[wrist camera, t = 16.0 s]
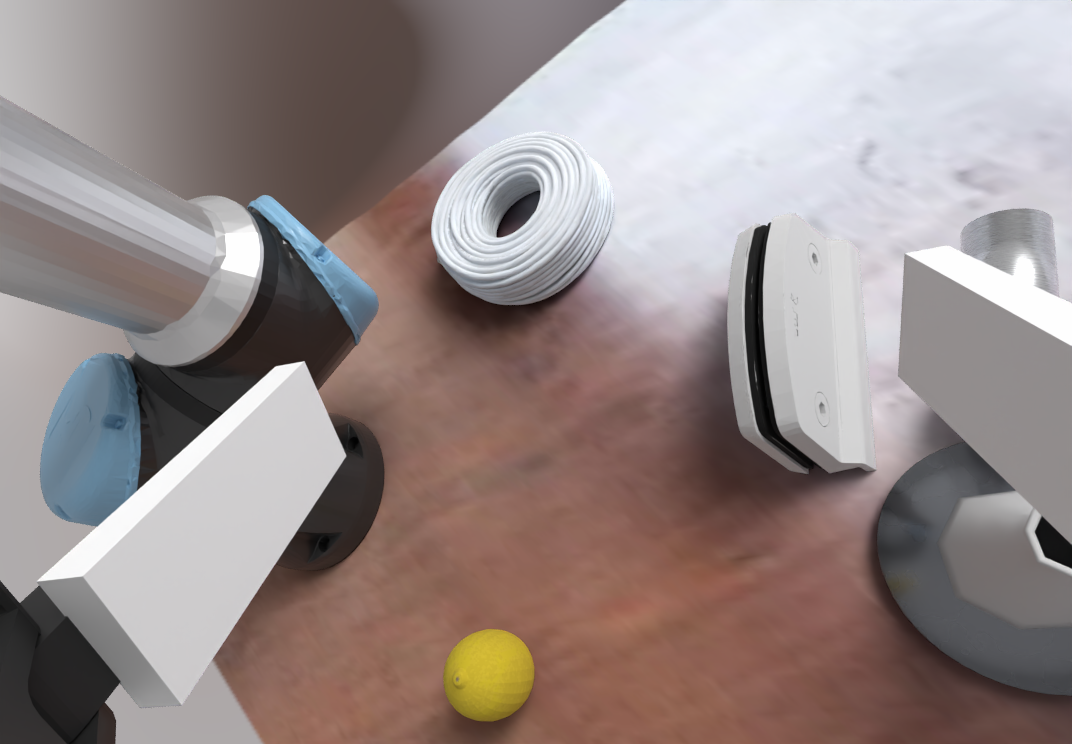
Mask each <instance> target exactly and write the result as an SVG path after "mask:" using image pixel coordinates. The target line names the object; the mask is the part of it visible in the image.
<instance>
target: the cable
mask: <svg viewBox="0 0 1072 744" xmlns="http://www.w3.org/2000/svg"><path fill="white" fill-rule="evenodd" d="M539 190H540V192H541V193H540V200H539V203H538V206H537V209H536V211H535V212H534V214H533V215H532V216H531V218H530V219H529V220H528V221H527V222H526V224H524V225H523V226H522V227H521V228H520V229H519V230H517V231H516V232H514V233H512V234H510V235H508V236H505V237H501V238H497V235H496V234H497V228H498V226H499V224H500V222H501V220H502V218H503V216H504V214H505V213H506V212H507V210H508V209H509V208H510V207H511V205H513V204H514V203H515V202H517V201H518V200H519V199H521V198H522V197H524V196H526V195H528V194H530V193H532V192H535V191H539ZM613 213H614V193H613V189H612V185H611V183H610V180H609V178H608V177H607V175H606V173H605V171H604V170H603V168H602V167H601V166H600V165H599V164H598V163H597V162H596V161H595V160H593V159H592V158H591V157H590V156H588V154H587V153H586V151H585V150H584V148H583V147H582V146H581V145H580V144H579V143H577V142H576V141H575V140H573V139H571V138H569V137H567V136H564V135H561V134H558V133H553V132H532V133H526V134H521V135H518V136H515V137H512V138H509V139H506V140H503V141H501V142H499V143H497V144H495V145H493V146H491V147H490V148H488V149H486V150H484V151H483V152H481V153H480V154H478V155H477V156H475V157H474V158H473V159H472V160H470V161H468V162H467V163H466V164H465V165H463V166H462V167H461V168H460V169H459V170H458V171H457V172H456V173H455V174H454V175H453V177H452V178H451V179H450V180H449V182H448V183H447V185H446V186H445V188H444V190H443V191H442V193H441V195H440V197H439V199H438V202H437V204H436V207H435V210H434V214H433V218H432V226H431V234H432V241H433V244H434V247H435V250H436V253H437V256H438V258H437V261H438V263H440V264H442V265H443V267H444V268H445V269H446V271H447V272H448V273H449V274H450V275H451V276H452V277H453V278H454V279H455V280H456V281H457V283H458V284H459V285H460V286H461V287H462V288H464V289H465V290H466V291H468V292H469V293H471V294H473V295H475V296H477V297H479V298H481V299H483V300H485V301H488V302H491V303H495V304H500V305H524V304H530V303H534V302H537V301H541V300H543V299H546V298H548V297H550V296H552V295H554V294H555V293H557V292H559V291H560V290H562V289H563V288H565V287H566V286H567V285H569V284H570V283H571V282H572V281H573V280H574V279H576V278H577V277H578V276H579V275H580V274H581V273H582V272H583V271H584V270H585V269H586V268H587V267H588V265H589V264H590V263H591V262H592V260H593V258H594V257H595V256H596V254H597V252H598V251H599V249H600V248H601V246H602V244H603V242H604V240H605V238H606V236H607V234H608V231H609V229H610V226H611V222H612V218H613Z"/></svg>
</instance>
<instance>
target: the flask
mask: <svg viewBox="0 0 1072 744" xmlns="http://www.w3.org/2000/svg"><path fill="white" fill-rule="evenodd" d="M937 544H938V547H939V550H940V553H941V556H942V559H943V562H944V565H945V568H946V571H947V574H948V577H949V580H950V583H951V586H952V589H953V592H954V595H955V597H956V598H958V599H960V600H962V601H964V602H966V603H968V604H970V605H972V606H974V607H976V608H978V609H980V610H982V611H984V612H986V613H988V614H990V615H992V616H994V617H996V618H998V619H1000V620H1002V621H1004V622H1006V623H1008V624H1010V625H1012V626H1014V627H1016V628H1018V629H1042V628H1063V627H1072V544H1071V543H1070V542H1068V541H1067V540H1066V539H1065V538H1064V537H1063V536H1062V535H1061V534H1060V533H1059V532H1058V531H1057V530H1056V529H1055V528H1054V527H1053V526H1052V525H1051V524H1050V523H1049V522H1048V521H1047V520H1046V519H1045V518H1044V517H1043V516H1042V515H1041V514H1040V513H1039V512H1038V511H1037V510H1036V509H1034V508H1033V507H1032V506H1031V505H1030V504H1029V503H1028V502H1027V501H1026V500H1025V499H1024V498H1023V497H1022V496H1021V495H1020V494H1019V493H1018V492H1017V491H1009V492H1001V493H993V494H986V495H978V496H970V497H962V498H958V500H957V502H956V504H955V506H954V508H953V511H952V513H951V515H950V517H949V519H948V521H947V523H946V525H945V527H944V530H943V532H942V534H941V536H940V538H939V540H938V542H937Z"/></svg>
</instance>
